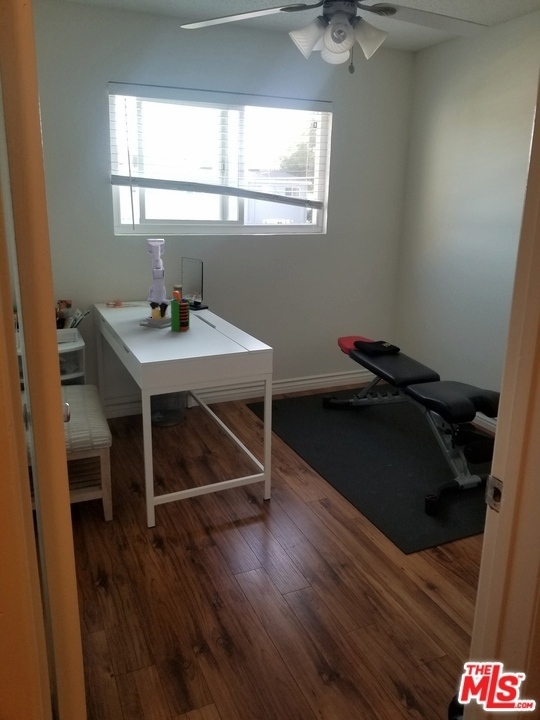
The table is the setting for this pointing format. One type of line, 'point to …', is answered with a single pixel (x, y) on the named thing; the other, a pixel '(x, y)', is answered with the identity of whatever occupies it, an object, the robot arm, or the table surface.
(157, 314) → the yellow block
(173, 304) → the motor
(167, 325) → the chassis plate
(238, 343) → the table surface
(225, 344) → the table surface
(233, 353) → the table surface
